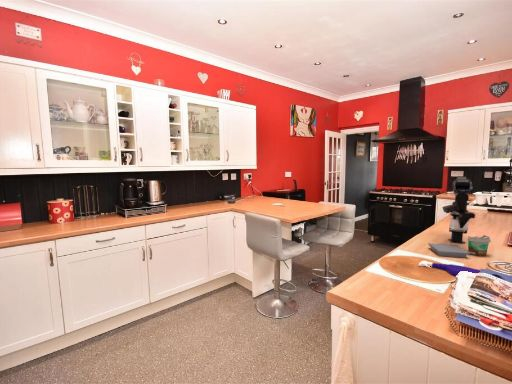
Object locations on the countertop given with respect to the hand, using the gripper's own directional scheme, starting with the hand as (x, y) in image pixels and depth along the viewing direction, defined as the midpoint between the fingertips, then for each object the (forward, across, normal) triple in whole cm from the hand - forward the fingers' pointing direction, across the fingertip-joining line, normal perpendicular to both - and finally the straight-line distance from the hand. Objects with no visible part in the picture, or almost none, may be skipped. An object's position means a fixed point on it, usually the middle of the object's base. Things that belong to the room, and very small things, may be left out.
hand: (458, 227), depth 149 cm
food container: (+13, +11, +6) cm, 18 cm away
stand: (+12, +12, -10) cm, 20 cm away
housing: (+1, 0, 0) cm, 1 cm away
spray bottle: (+13, +40, -20) cm, 47 cm away
